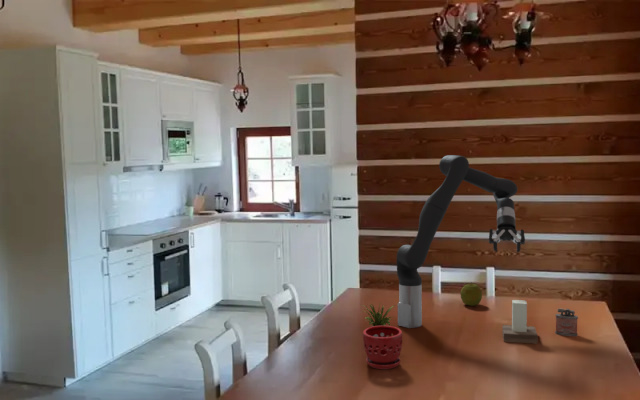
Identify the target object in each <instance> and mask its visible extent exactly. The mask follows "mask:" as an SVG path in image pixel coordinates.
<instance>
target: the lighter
mask: <svg viewBox="0 0 640 400" xmlns="http://www.w3.org/2000/svg"><path fill="white" fill-rule="evenodd" d="M578 319H579V317H578V315H575V310H573V309H572V310H571V309H570V308H566V309H565V308H557V313H555V332H554V334H555V335H560V336H567V337H578Z"/></svg>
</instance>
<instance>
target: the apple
mask: <svg viewBox="0 0 640 400" xmlns="http://www.w3.org/2000/svg"><path fill="white" fill-rule="evenodd" d="M460 299H461V301H462V303H463V304H464V305H467V306H469V307H475V306H477V305H480V303H481V301H482V299H483V292H482V289H481V287H480V286H479V284H476V283H472V281H471V282H470V283H467V284H465V285H463V287H462V288H461V290H460Z"/></svg>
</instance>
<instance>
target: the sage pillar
mask: <svg viewBox="0 0 640 400" xmlns="http://www.w3.org/2000/svg"><path fill="white" fill-rule="evenodd" d="M511 301H512V303H511V325H512V330H513V332H527V326H528V325H527V324H528V322H527V321H528V311H527V310H528V303H527V300H521V299H512V300H511Z"/></svg>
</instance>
